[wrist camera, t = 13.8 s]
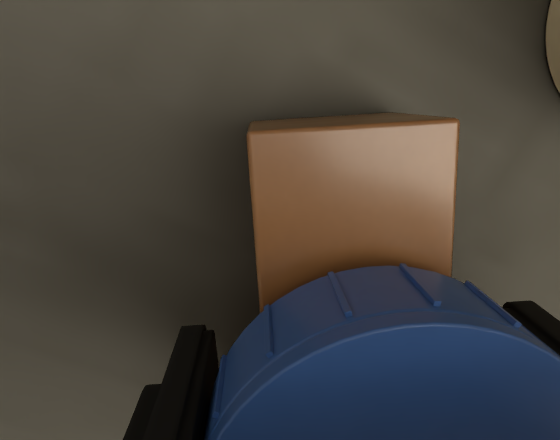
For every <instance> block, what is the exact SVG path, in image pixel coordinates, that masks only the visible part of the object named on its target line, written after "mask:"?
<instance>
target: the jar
mask: <svg viewBox="0 0 560 440" xmlns="http://www.w3.org/2000/svg"><path fill="white" fill-rule="evenodd" d="M545 41H546V54H547V60H548V65H549V70H550V73H551V75H552V78H553V81H554V84H555V85H556V87H557V89H558V91H559V93H560V0H551V3H550V6H549V11H548V17H547V23H546V40H545Z"/></svg>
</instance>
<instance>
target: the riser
mask: <svg viewBox="0 0 560 440" xmlns="http://www.w3.org/2000/svg"><path fill="white" fill-rule="evenodd" d="M459 126H460V123H459V120H458V119H456V118H450V117H438V116H427V115H416V114H404V113H393V112H391V113H375V114H358V115H342V116H326V117H309V118H293V119H277V120H260V121H252V122H250V125H249V128H248V132H247V136H246V139H247V152H248V164H249V177H250V190H251V203H252V216H253V229H254V242H255V255H256V268H257V281H258V294H259V307H260V313H261V312H263V311H264V306H266V305H267V304H269V305H272V304H273V303H274V302H275V301H277V300H278V299H280V298H281V297H283V296H285V295H286V294H288V293H290V292H291V291H293V290H295V289H296V288H298V287H300V286H302V285H305V284H307V283H309V282H311V281H314V280H316V279H318V278H321V277H324V276H327V275H328V272H331V271H333V272H334V273H337V272H340V271H345V270H350V269H356V268H362V267H372V266H400V263H404V264H406V265H407V266H408V267H414V268H419V269H423V270H428V271H433V272H437V273H439V274H442V275H445V276H448V277H451V271H452V253H453V235H454V216H455V198H456V180H457V162H458V144H459Z"/></svg>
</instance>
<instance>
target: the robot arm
mask: <svg viewBox="0 0 560 440" xmlns="http://www.w3.org/2000/svg"><path fill="white" fill-rule="evenodd" d="M502 308H503V309H504V310H505V311H507V312H508V313H509V314H510V315H511V316H513V317H514V318H515V319H516V320H518V321H519V322H520V323H521V324H522V325H523V326H524V327H525V328H526V329H528V330H529V331H530V332H531V333H533V334H534V335H535V336H536V337H537V338H539V339H540V340H541V341H542V342H544V343H545V344H546V345H547V346H549V347H550V348H551V349H552V350H553V351H555V352H556V353H557V354H558V355H560V321H559V320H557V319H556V318H555V317H553V316H552V315H551V314H549V313H548V312H547V311H545V310H544V309H543V308H541V307H540V306H539V305H537V304H536V303H535V302H533V301H516V302H506V303H505V304H504V305H503V307H502ZM218 372H219V367H218V358H217V349H216V340H215V333H214V330H206V326H205V325H192V326H182V327H181V329H180V331H179V334H178V337H177V340H176V343H175V346H174V349H173V352H172V355H171V358H170V361H169V364H168V367H167V370H166V372H165V375H164V378H163V381H162V384H152V385H146V386H145V387H144V389H143V391H142V393H141V396H140V398H139V401H138V403H137V406H136V408H135V411H134V413H133V416H132V418H131V421H130V423H129V426H128V428H127V431H126V433H125V436H124V438H123V440H204V436H205V429H206V423H207V417H208V411H209V405H210V400H211V395H212V391H213V386H214V383H215V380H216V377H217V375H218Z"/></svg>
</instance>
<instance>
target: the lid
mask: <svg viewBox="0 0 560 440" xmlns="http://www.w3.org/2000/svg"><path fill="white" fill-rule="evenodd" d="M204 440H560V355H558V354H557V353H556V352H555V351H553V350H552V349H551V348H550V347H549V346H547V345H546V344H545V343H544V342H542V341H541V340H540V339H539V338H537V337H536V336H535V335H534V334H533V333H531V332H530V331H529V330H528V329H526V328H525V327H524V326H523V325H522V324H521V323H520V322H519V321H518V320H516V319H515V318H514V317H513V316H511V315H510V314H509V313H508V312H507V311H505V310H504V309H503V308H502V307H500V306H499V305H498V304H497V303H495V302H494V301H493V300H492V299H491V298H489V297H488V296H487V295H486V294H484V293H483V292H482V291H481V290H480V289H478V288H477V287H476V286H475V285H473V284H472V283H471V282H469V281H466V282H465V284H464V283H462V282H460V281H458V280H456V279H454V278H451V277H448V276H445V275H442V274H439V273H437V272H433V271H428V270H423V269H419V268H414V267H408V266H407V265H406V264H404V263H400V266H372V267H362V268H356V269H350V270H345V271H340V272H337V273H334V272H333V271H331V272H328V275H327V276H324V277H321V278H318V279H316V280H314V281H311V282H309V283H307V284H305V285H302V286H300V287H298V288H296V289H295V290H293V291H291V292H290V293H288V294H286V295H285V296H283V297H281V298H280V299H278V300H277V301H275V302H274V303H273V304H272V305H269V304H267V305H266V306H264V311H263V312H261V313H260V314H259V315H258V316H257V317H256V318H255V319H254V320H253V321H252V322H251V323H250V324H249V325H248V326H247V327H246V328H245V329H244V331H243V332H242V333H241V335H240V336H239V337H238V339H237V340H236V341H235V343H234V344H233V345H232V347H231V348H230V350H229V352H228V354H227V356H226V355H222V357H221V360H220V367H219V372H218V375H217V377H216V380H215V383H214V386H213V391H212V395H211V400H210V405H209V411H208V417H207V423H206V429H205V436H204Z"/></svg>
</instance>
